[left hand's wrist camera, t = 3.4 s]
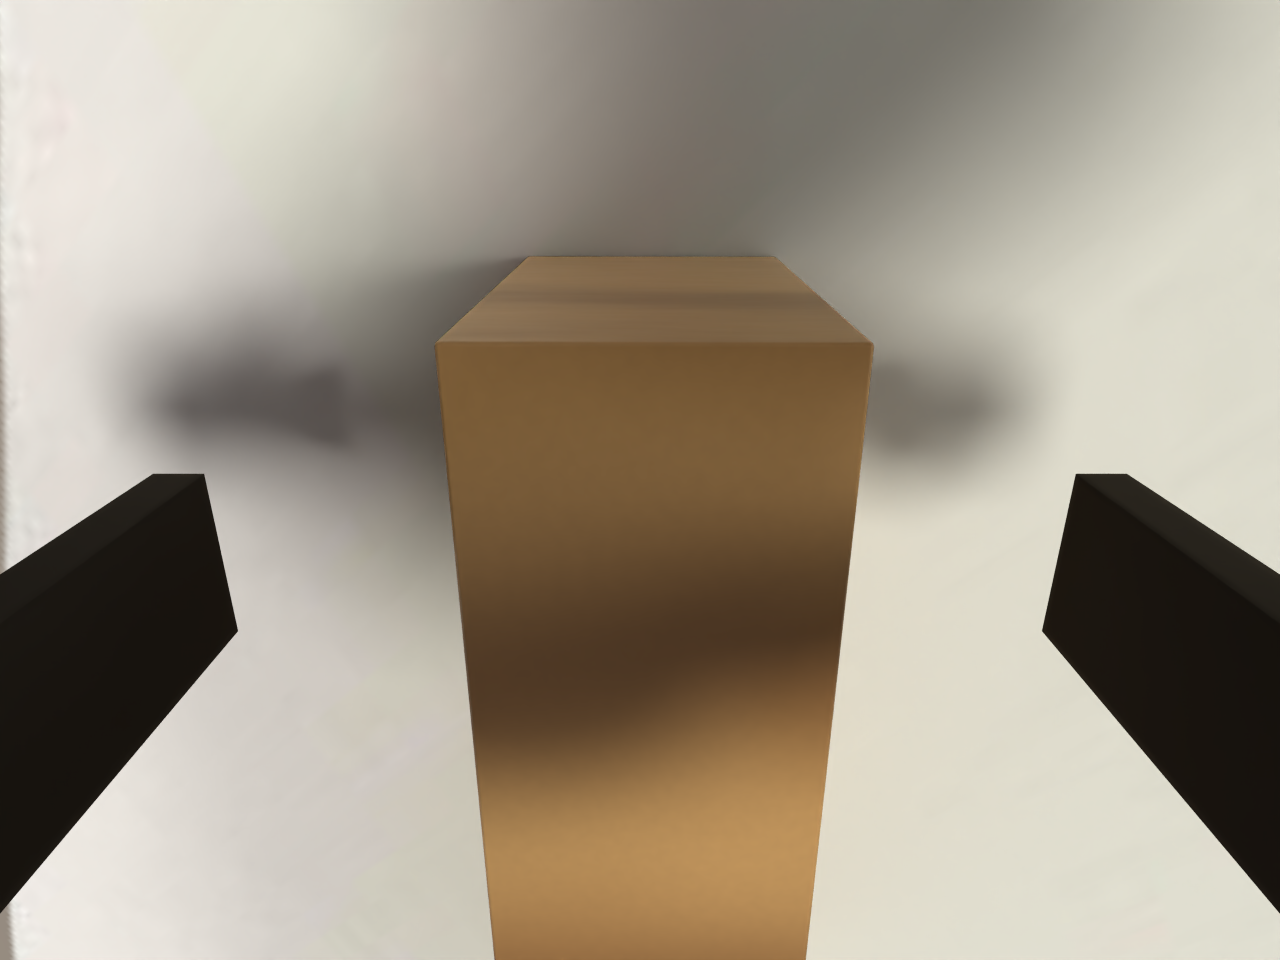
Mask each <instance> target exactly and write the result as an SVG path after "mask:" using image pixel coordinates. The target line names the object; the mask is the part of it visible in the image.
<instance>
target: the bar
mask: <svg viewBox="0 0 1280 960" xmlns="http://www.w3.org/2000/svg"><path fill="white" fill-rule="evenodd" d="M873 351H874V345H873V343H872V342H871V341H870V340H868V339H867V338H866V337H865V336H864V335H863V334H862V333H861V332H859V331H858V330H857V329H856V328H855V327H854V326H853V325H851V324H850V323H849V322H848V321H847V320H846V319H845V318H844V317H842V316H841V315H840V314H839V313H838V312H837V311H836V310H835V309H833V308H832V307H831V306H830V305H829V304H828V303H827V302H825V301H824V300H823V299H822V298H821V297H820V296H819V295H818V294H816V293H815V292H814V291H813V290H812V289H811V288H810V287H809V286H807V285H806V284H805V283H804V282H803V281H802V280H801V279H800V278H798V277H797V276H796V275H795V274H794V273H793V272H792V271H790V270H789V269H788V268H787V267H786V266H785V265H784V264H783V263H781V262H780V261H779V260H778V259H777V258H776V257H632V256H529V257H527V258H526V259H525V260H524V261H523V262H522V263H521V264H520V265H519V266H518V267H517V268H516V269H514V270H513V271H512V272H511V273H510V274H509V275H508V276H507V277H506V278H505V279H504V280H503V281H501V282H500V283H499V284H498V285H497V286H496V287H495V288H494V289H493V290H492V291H491V292H490V293H489V294H487V295H486V296H485V297H484V298H483V299H482V300H481V301H480V302H479V303H478V304H477V305H476V306H474V307H473V308H472V309H471V310H470V311H469V312H468V313H467V314H466V315H465V316H464V317H463V318H461V319H460V320H459V321H458V322H457V323H456V324H455V325H454V326H453V327H452V328H451V329H450V330H449V331H447V332H446V333H445V334H444V335H443V336H442V337H441V338H440V339H439V340H438V341H437V342H436V343H435V357H436V367H437V377H438V387H439V397H440V408H441V418H442V428H443V438H444V448H445V459H446V469H447V479H448V489H449V500H450V510H451V520H452V530H453V540H454V551H455V561H456V571H457V581H458V591H459V602H460V612H461V622H462V632H463V642H464V653H465V663H466V673H467V683H468V693H469V704H470V714H471V724H472V734H473V744H474V755H475V765H476V775H477V785H478V796H479V806H480V816H481V826H482V836H483V847H484V857H485V867H486V877H487V887H488V898H489V908H490V918H491V928H492V938H493V949H494V959H495V960H806V952H807V943H808V934H809V925H810V916H811V907H812V898H813V889H814V880H815V871H816V862H817V853H818V844H819V835H820V827H821V818H822V809H823V800H824V791H825V782H826V773H827V764H828V755H829V746H830V737H831V728H832V719H833V710H834V701H835V692H836V683H837V674H838V665H839V656H840V647H841V638H842V629H843V620H844V611H845V602H846V593H847V584H848V575H849V566H850V557H851V548H852V539H853V531H854V522H855V513H856V504H857V495H858V486H859V477H860V468H861V459H862V450H863V441H864V432H865V423H866V414H867V405H868V396H869V387H870V378H871V369H872V360H873Z"/></svg>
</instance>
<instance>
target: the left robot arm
mask: <svg viewBox="0 0 1280 960" xmlns="http://www.w3.org/2000/svg"><path fill="white" fill-rule="evenodd" d="M237 632H238V629H237V624H236V620H235V615H234V610H233V606H232V601H231V597H230V592H229V587H228V583H227V578H226V573H225V569H224V564H223V559H222V555H221V550H220V546H219V541H218V536H217V532H216V527H215V522H214V518H213V513H212V508H211V504H210V499H209V495H208V490H207V485H206V481H205V476H204V474H152V475H151V476H149V477H148V478H146V479H145V480H143V481H142V482H140V483H139V484H137V485H136V486H134V487H132V488H131V489H129V490H128V491H126V492H125V493H123V494H122V495H120V496H119V497H117V498H116V499H114V500H113V501H111V502H110V503H108V504H107V505H105V506H104V507H102V508H101V509H99V510H98V511H96V512H94V513H93V514H91V515H90V516H88V517H87V518H85V519H84V520H82V521H81V522H79V523H78V524H76V525H75V526H73V527H72V528H70V529H69V530H67V531H66V532H64V533H63V534H61V535H60V536H58V537H56V538H55V539H53V540H52V541H50V542H49V543H47V544H46V545H44V546H43V547H41V548H40V549H38V550H37V551H35V552H34V553H32V554H31V555H29V556H28V557H26V558H25V559H23V560H22V561H20V562H18V563H17V564H15V565H14V566H12V567H11V568H9V569H8V570H6V571H5V572H3V573H2V574H0V913H1V912H2V911H3V909H4V908H5V907H6V906H7V905H8V904H9V902H10V901H11V900H12V899H13V898H14V896H15V895H16V894H17V893H18V892H19V890H20V889H21V888H22V887H23V886H24V885H25V883H26V882H27V881H28V880H29V879H30V877H31V876H32V875H33V874H34V873H35V871H36V870H37V869H38V868H39V867H40V866H41V864H42V863H43V862H44V861H45V860H46V858H47V857H48V856H49V855H50V854H51V852H52V851H53V850H54V849H55V848H56V847H57V845H58V844H59V843H60V842H61V841H62V839H63V838H64V837H65V836H66V835H67V833H68V832H69V831H70V830H71V829H72V828H73V826H74V825H75V824H76V823H77V822H78V820H79V819H80V818H81V817H82V816H83V814H84V813H85V812H86V811H87V810H88V809H89V807H90V806H91V805H92V804H93V803H94V801H95V800H96V799H97V798H98V797H99V795H100V794H101V793H102V792H103V791H104V790H105V788H106V787H107V786H108V785H109V784H110V782H111V781H112V780H113V779H114V778H115V776H116V775H117V774H118V773H119V772H120V771H121V769H122V768H123V767H124V766H125V765H126V763H127V762H128V761H129V760H130V759H131V757H132V756H133V755H134V754H135V753H136V752H137V750H138V749H139V748H140V747H141V746H142V744H143V743H144V742H145V741H146V740H147V738H148V737H149V736H150V735H151V734H152V733H153V731H154V730H155V729H156V728H157V727H158V725H159V724H160V723H161V722H162V721H163V719H164V718H165V717H166V716H167V715H168V714H169V712H170V711H171V710H172V709H173V708H174V706H175V705H176V704H177V703H178V702H179V700H180V699H181V698H182V697H183V696H184V695H185V693H186V692H187V691H188V690H189V689H190V687H191V686H192V685H193V684H194V683H195V681H196V680H197V679H198V678H199V677H200V676H201V674H202V673H203V672H204V671H205V670H206V668H207V667H208V666H209V665H210V664H211V662H212V661H213V660H214V659H215V658H216V657H217V655H218V654H219V653H220V652H221V651H222V649H223V648H224V647H225V646H226V645H227V643H228V642H229V641H230V640H231V639H232V638H233V636H234V635H235V634H236V633H237ZM1042 632H1043V633H1044V634H1045V635H1046V636H1047V638H1048V639H1049V640H1050V641H1051V642H1052V643H1053V645H1054V646H1055V647H1056V648H1057V649H1058V651H1059V652H1060V653H1061V654H1062V655H1063V657H1064V658H1065V659H1066V660H1067V661H1068V662H1069V664H1070V665H1071V666H1072V667H1073V668H1074V670H1075V671H1076V672H1077V673H1078V674H1079V676H1080V677H1081V678H1082V679H1083V680H1084V681H1085V683H1086V684H1087V685H1088V686H1089V687H1090V689H1091V690H1092V691H1093V692H1094V693H1095V695H1096V696H1097V697H1098V698H1099V699H1100V700H1101V702H1102V703H1103V704H1104V705H1105V706H1106V708H1107V709H1108V710H1109V711H1110V712H1111V714H1112V715H1113V716H1114V717H1115V718H1116V719H1117V721H1118V722H1119V723H1120V724H1121V725H1122V727H1123V728H1124V729H1125V730H1126V731H1127V733H1128V734H1129V735H1130V736H1131V737H1132V738H1133V740H1134V741H1135V742H1136V743H1137V744H1138V746H1139V747H1140V748H1141V749H1142V750H1143V752H1144V753H1145V754H1146V755H1147V756H1148V757H1149V759H1150V760H1151V761H1152V762H1153V763H1154V765H1155V766H1156V767H1157V768H1158V769H1159V771H1160V772H1161V773H1162V774H1163V775H1164V776H1165V778H1166V779H1167V780H1168V781H1169V782H1170V784H1171V785H1172V786H1173V787H1174V788H1175V790H1176V791H1177V792H1178V793H1179V794H1180V795H1181V797H1182V798H1183V799H1184V800H1185V801H1186V803H1187V804H1188V805H1189V806H1190V807H1191V809H1192V810H1193V811H1194V812H1195V813H1196V814H1197V816H1198V817H1199V818H1200V819H1201V820H1202V822H1203V823H1204V824H1205V825H1206V826H1207V828H1208V829H1209V830H1210V831H1211V832H1212V833H1213V835H1214V836H1215V837H1216V838H1217V839H1218V841H1219V842H1220V843H1221V844H1222V845H1223V847H1224V848H1225V849H1226V850H1227V851H1228V852H1229V854H1230V855H1231V856H1232V857H1233V858H1234V860H1235V861H1236V862H1237V863H1238V864H1239V866H1240V867H1241V868H1242V869H1243V870H1244V871H1245V873H1246V874H1247V875H1248V876H1249V877H1250V879H1251V880H1252V881H1253V882H1254V883H1255V885H1256V886H1257V887H1258V888H1259V889H1260V890H1261V892H1262V893H1263V894H1264V895H1265V896H1266V898H1267V899H1268V900H1269V901H1270V902H1271V904H1272V905H1273V906H1274V907H1275V908H1276V909H1277V911H1278V912H1279V913H1280V574H1278V573H1277V572H1275V571H1274V570H1272V569H1271V568H1269V567H1268V566H1266V565H1265V564H1263V563H1262V562H1260V561H1258V560H1257V559H1255V558H1254V557H1252V556H1251V555H1249V554H1248V553H1246V552H1245V551H1243V550H1242V549H1240V548H1239V547H1237V546H1236V545H1234V544H1233V543H1231V542H1230V541H1228V540H1227V539H1225V538H1224V537H1222V536H1220V535H1219V534H1217V533H1216V532H1214V531H1213V530H1211V529H1210V528H1208V527H1207V526H1205V525H1204V524H1202V523H1201V522H1199V521H1198V520H1196V519H1195V518H1193V517H1192V516H1190V515H1189V514H1187V513H1186V512H1184V511H1182V510H1181V509H1179V508H1178V507H1176V506H1175V505H1173V504H1172V503H1170V502H1169V501H1167V500H1166V499H1164V498H1163V497H1161V496H1160V495H1158V494H1157V493H1155V492H1154V491H1152V490H1151V489H1149V488H1148V487H1146V486H1144V485H1143V484H1141V483H1140V482H1138V481H1137V480H1135V479H1134V478H1132V477H1131V476H1129V475H1128V474H1076V476H1075V481H1074V485H1073V490H1072V495H1071V499H1070V504H1069V508H1068V513H1067V518H1066V522H1065V527H1064V532H1063V536H1062V541H1061V546H1060V550H1059V555H1058V559H1057V564H1056V569H1055V573H1054V578H1053V583H1052V587H1051V592H1050V597H1049V601H1048V606H1047V610H1046V615H1045V620H1044V624H1043V629H1042Z"/></svg>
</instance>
